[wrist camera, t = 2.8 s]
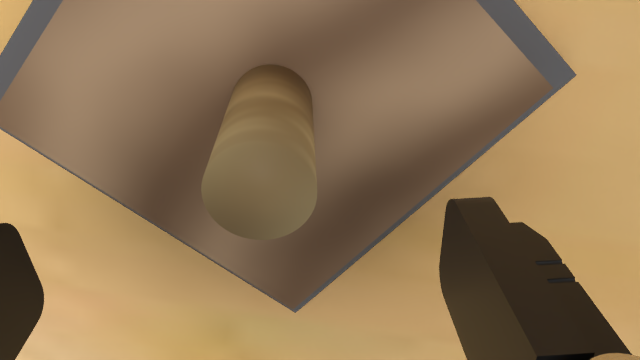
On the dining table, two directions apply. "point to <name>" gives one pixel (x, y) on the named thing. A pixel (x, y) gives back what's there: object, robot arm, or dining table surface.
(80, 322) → the dining table surface
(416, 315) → the dining table surface
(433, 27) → the lid
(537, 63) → the mat
